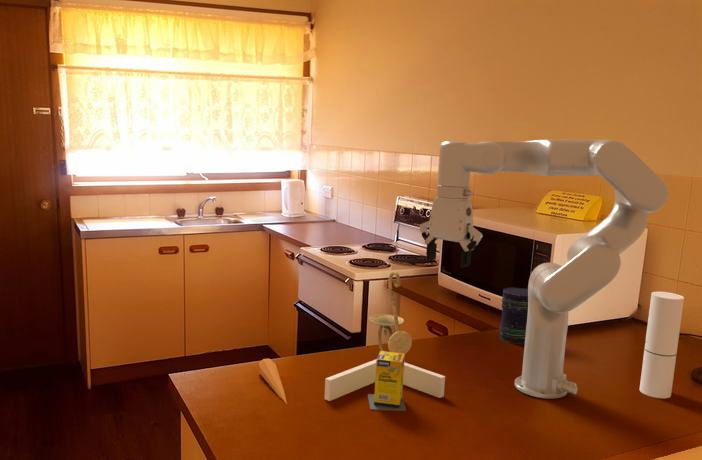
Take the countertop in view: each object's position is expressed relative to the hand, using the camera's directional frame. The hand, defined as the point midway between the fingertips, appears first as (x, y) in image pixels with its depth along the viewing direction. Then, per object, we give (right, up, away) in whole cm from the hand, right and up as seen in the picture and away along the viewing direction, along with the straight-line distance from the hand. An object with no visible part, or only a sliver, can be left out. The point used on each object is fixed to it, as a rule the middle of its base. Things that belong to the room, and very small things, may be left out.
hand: (447, 263), depth 156 cm
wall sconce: (-14, -27, +18) cm, 35 cm away
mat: (-15, -32, -9) cm, 36 cm away
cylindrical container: (+52, -33, +4) cm, 62 cm away
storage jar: (+27, -26, +41) cm, 55 cm away
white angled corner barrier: (-16, -31, -6) cm, 35 cm away
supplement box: (-15, -31, -9) cm, 36 cm away
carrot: (-42, -30, -3) cm, 51 cm away
